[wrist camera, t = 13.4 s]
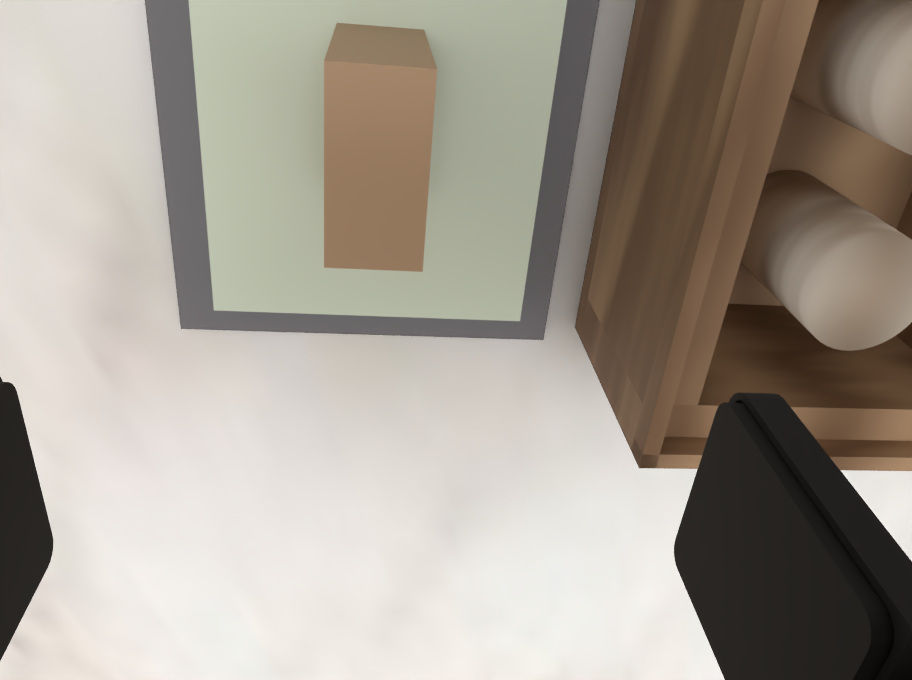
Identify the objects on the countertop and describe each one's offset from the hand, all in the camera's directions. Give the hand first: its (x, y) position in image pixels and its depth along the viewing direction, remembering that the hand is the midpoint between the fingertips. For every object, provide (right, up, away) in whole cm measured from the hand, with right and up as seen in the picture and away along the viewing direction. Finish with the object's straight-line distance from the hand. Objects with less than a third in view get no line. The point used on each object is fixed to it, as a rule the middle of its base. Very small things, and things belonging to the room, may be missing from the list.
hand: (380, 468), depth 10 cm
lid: (-2, +11, +18) cm, 21 cm away
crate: (+15, +10, +21) cm, 27 cm away
